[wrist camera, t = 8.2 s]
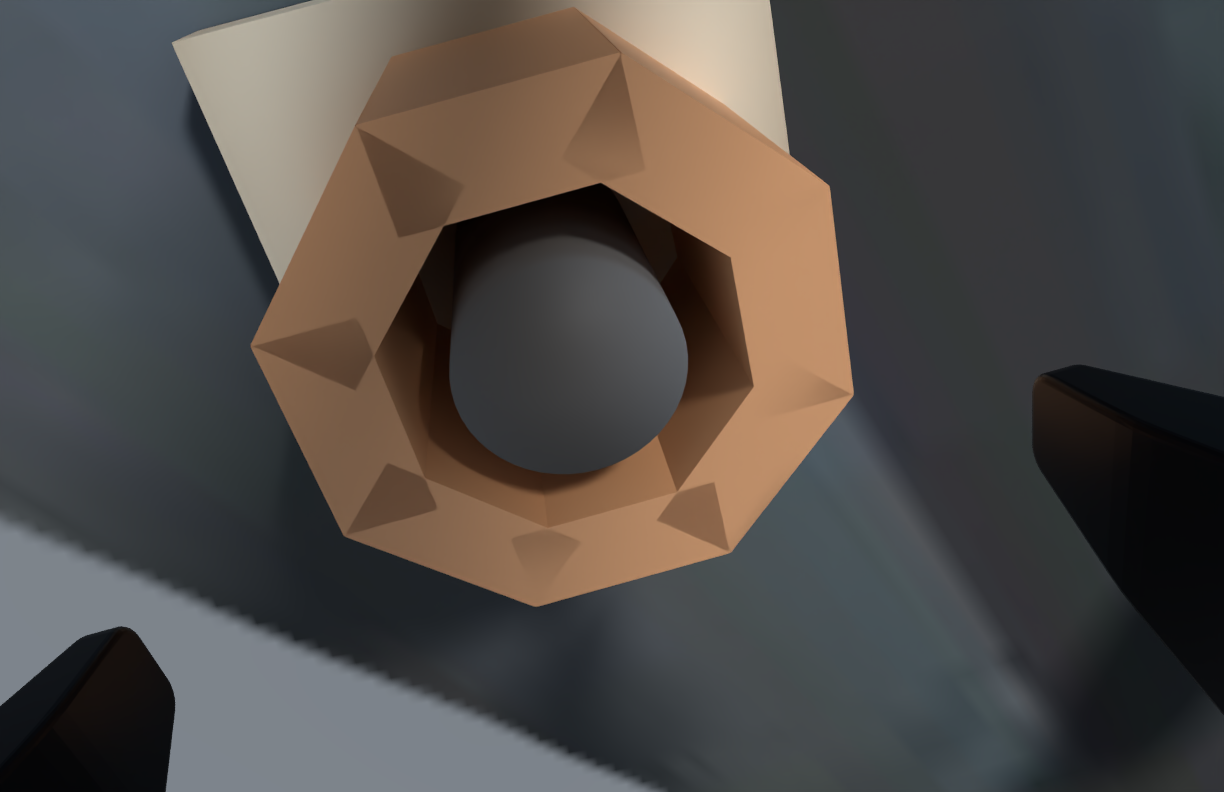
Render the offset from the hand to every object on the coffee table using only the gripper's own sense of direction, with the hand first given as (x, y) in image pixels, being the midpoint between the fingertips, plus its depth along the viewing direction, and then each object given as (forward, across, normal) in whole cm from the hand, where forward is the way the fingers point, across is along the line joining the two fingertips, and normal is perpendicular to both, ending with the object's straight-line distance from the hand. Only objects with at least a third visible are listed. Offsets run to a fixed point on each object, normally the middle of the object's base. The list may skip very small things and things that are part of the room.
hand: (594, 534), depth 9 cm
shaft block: (+10, 0, 0) cm, 10 cm away
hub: (+8, 0, 0) cm, 8 cm away
